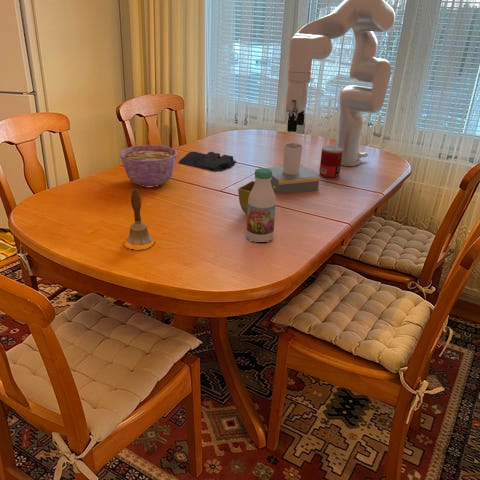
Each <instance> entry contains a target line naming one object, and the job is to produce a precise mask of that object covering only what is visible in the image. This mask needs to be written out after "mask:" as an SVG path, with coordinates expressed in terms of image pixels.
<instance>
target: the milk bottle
mask: <svg viewBox="0 0 480 480" xmlns="http://www.w3.org/2000/svg"><path fill="white" fill-rule="evenodd" d="M265 168H266V167H263V168H256V169H255V170H254V180H255V184H254V186H253V188H252V190H251V192H250V194H249V198H248V209H247V214H246V238H247V240H248V239H249V241H250V240H251V241H250V242H252V241H254V242H253V243H255V242H267V243H269V242H268V241H270V240H271V241H272V240H273V239H274V235H275V234H274V233H275V223H276V222H275V221H276V205H277V203H276V202H277V201H276V195H275V192H274V191H273V189H272V186H271V179H272V171H271V170H269V169H265ZM271 241H270V242H271Z"/></svg>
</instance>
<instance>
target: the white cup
mask: <svg viewBox="0 0 480 480" xmlns="http://www.w3.org/2000/svg"><path fill="white" fill-rule="evenodd" d="M302 153H303V144H301V143H297V142H286V143H284V144H283V166H282V167H283V172H284V173H285V174H290V175H295V174H298V173H299V168H300V165H301V160H302Z"/></svg>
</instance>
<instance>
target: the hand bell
mask: <svg viewBox="0 0 480 480" xmlns="http://www.w3.org/2000/svg"><path fill="white" fill-rule="evenodd" d="M130 204H131V208H132V210H133V213H134V214H133V215H134V216H133V217H134V219H133V220H134V222H133V223H132V224H131V225H130V227H129V234H128V237H127V238H126V239H127V242H128V243H130V244H132V245H140V246H141V245H145V244H149V243H151V242H152V241H153V239H154V238H153V237H152V236H151V235H150V233H149V231H148V226H147V224H146V223H144V222H142V217H141V208H142V198H141V194H140V192H139V190H138V188H132V189H131V195H130Z"/></svg>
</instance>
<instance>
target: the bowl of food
mask: <svg viewBox="0 0 480 480" xmlns="http://www.w3.org/2000/svg"><path fill="white" fill-rule="evenodd" d="M119 155H120V159H121V162H122V166H123V168H124V171H125V173H126V176H127V177H128V179H129V180H130V181H131V182H133V183H134V184H136V185H139V186H141V185H144V186H156V185H160V184H161V185H163V184H164V183H167V182H169V180H171V178H172V177H173V173H174V170H175V165H176V160H177V155H178V151H177V150H176V149H175V148H172V147H170V146H167V145H160V144H159V145H158V144H157V145H156V144H144V145H143V144H142V145H134V146H129V147H127V148H124V149H123V150H121V151H120V152H119ZM161 185H160V186H161Z"/></svg>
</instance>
